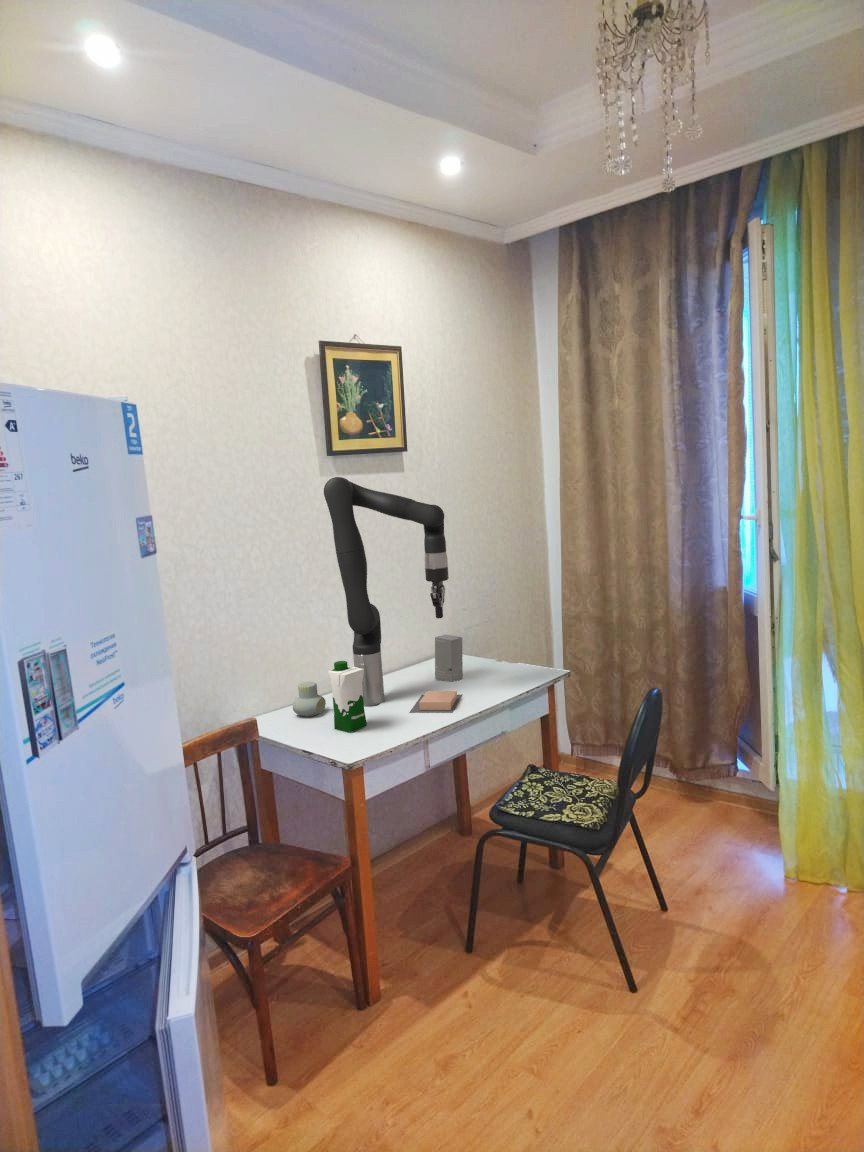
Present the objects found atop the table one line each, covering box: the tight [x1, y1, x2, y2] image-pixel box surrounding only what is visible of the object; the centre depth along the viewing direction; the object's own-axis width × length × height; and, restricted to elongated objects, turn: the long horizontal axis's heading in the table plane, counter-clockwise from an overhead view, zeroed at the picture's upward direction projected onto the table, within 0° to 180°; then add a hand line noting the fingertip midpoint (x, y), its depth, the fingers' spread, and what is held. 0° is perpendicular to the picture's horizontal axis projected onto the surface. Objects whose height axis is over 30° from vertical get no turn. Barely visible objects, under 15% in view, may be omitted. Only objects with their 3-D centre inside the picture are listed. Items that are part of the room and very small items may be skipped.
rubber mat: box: [408, 693, 463, 714], centre depth 246 cm, size 14×19×1 cm
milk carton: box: [327, 660, 368, 734], centre depth 228 cm, size 9×9×20 cm
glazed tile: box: [419, 690, 458, 710], centre depth 244 cm, size 10×3×12 cm
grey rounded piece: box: [292, 681, 326, 717], centre depth 245 cm, size 11×8×10 cm
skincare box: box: [434, 634, 464, 683], centre depth 274 cm, size 8×7×16 cm
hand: (439, 617), depth 251 cm, fingers closed
